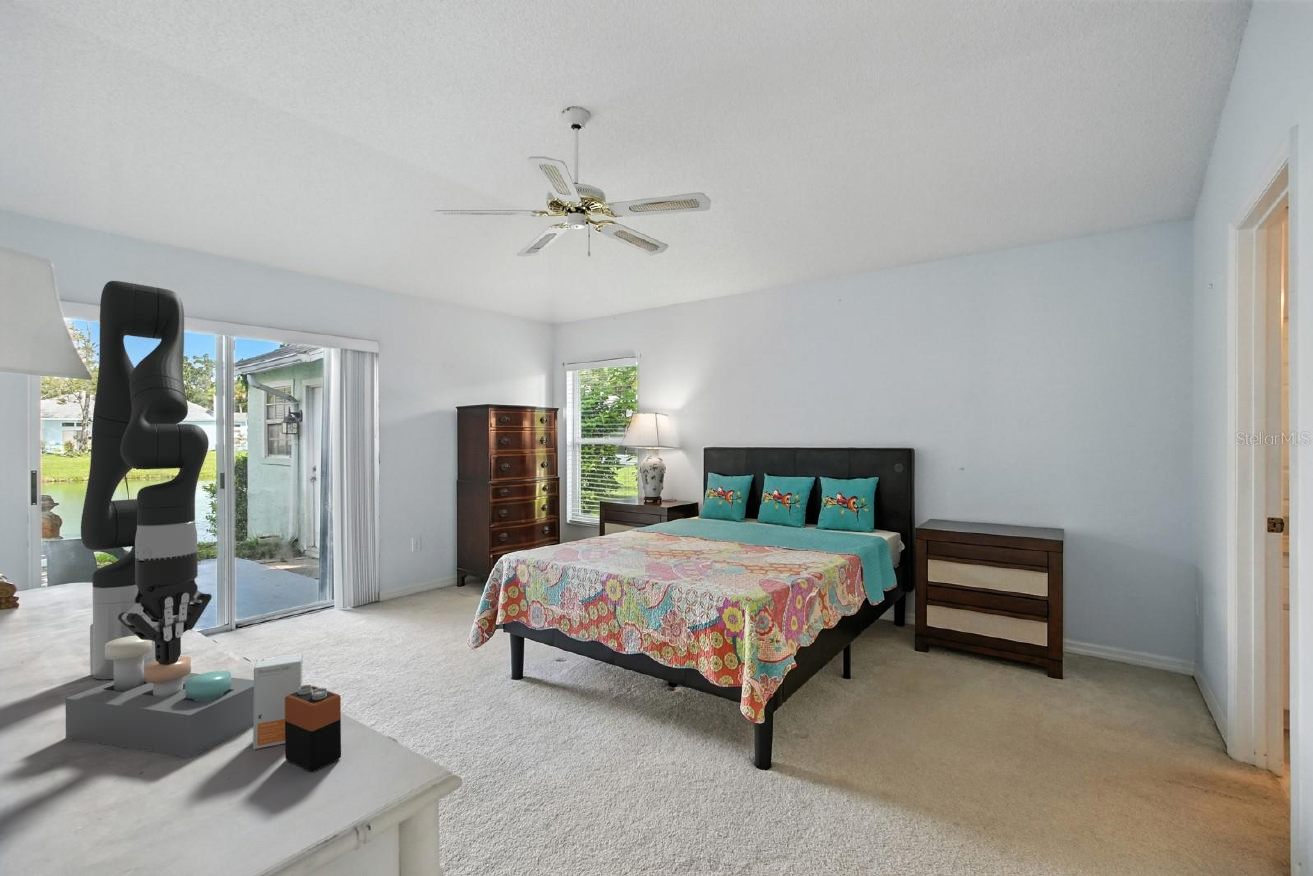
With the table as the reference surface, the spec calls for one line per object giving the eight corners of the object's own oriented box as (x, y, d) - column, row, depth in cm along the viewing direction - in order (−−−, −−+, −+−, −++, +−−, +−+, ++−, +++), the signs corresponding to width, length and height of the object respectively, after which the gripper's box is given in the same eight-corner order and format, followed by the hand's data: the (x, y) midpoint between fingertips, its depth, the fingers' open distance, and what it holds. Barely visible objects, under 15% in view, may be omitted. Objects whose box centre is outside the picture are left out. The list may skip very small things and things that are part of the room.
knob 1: (95, 693, 93) (95, 645, 93) (134, 679, 99) (134, 633, 99) (123, 697, 92) (122, 648, 92) (161, 682, 97) (160, 636, 97)
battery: (311, 774, 80) (311, 699, 80) (283, 760, 84) (283, 689, 84) (342, 759, 84) (342, 687, 84) (314, 746, 88) (314, 678, 88)
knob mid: (135, 717, 91) (134, 668, 91) (172, 701, 97) (172, 655, 97) (163, 721, 90) (163, 671, 90) (200, 705, 95) (199, 658, 95)
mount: (65, 738, 90) (65, 698, 90) (150, 703, 102) (149, 668, 102) (190, 757, 85) (190, 715, 85) (264, 718, 96) (264, 681, 96)
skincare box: (252, 751, 86) (252, 668, 86) (256, 738, 90) (256, 658, 90) (301, 741, 89) (301, 660, 89) (303, 729, 93) (302, 651, 93)
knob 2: (176, 733, 89) (175, 683, 89) (212, 716, 95) (211, 669, 95) (205, 738, 88) (205, 687, 88) (240, 720, 94) (240, 672, 94)
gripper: (190, 543, 101) (191, 646, 101) (100, 559, 88) (101, 677, 88) (226, 545, 99) (227, 650, 99) (139, 561, 86) (140, 682, 86)
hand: (168, 662), depth 93 cm, fingers closed
